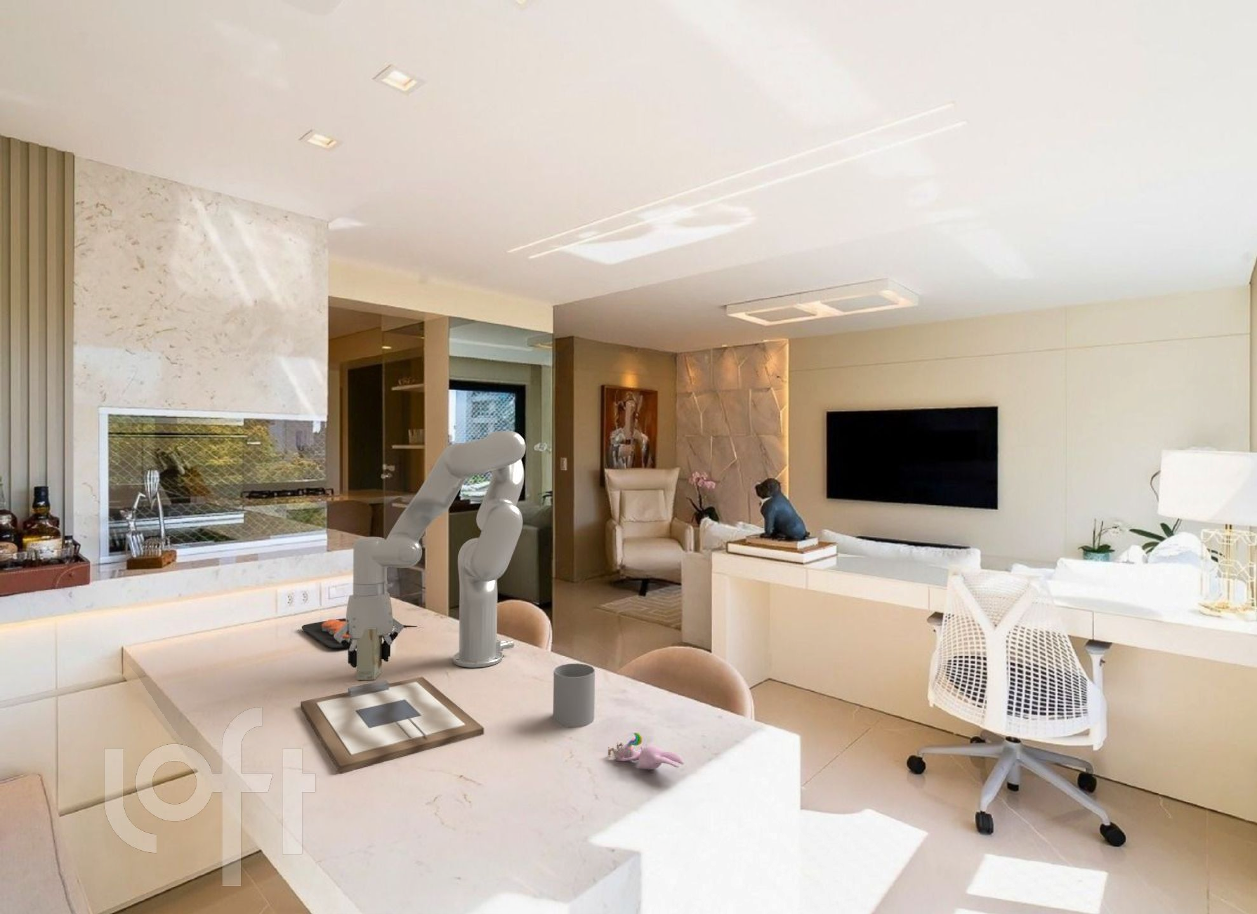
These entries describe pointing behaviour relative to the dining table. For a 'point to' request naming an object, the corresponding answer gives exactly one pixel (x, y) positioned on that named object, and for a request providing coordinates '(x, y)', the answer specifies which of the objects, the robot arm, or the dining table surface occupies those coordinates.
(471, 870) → the dining table surface
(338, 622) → the sushi plate
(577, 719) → the cup
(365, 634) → the skincare box
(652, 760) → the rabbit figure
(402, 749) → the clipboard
